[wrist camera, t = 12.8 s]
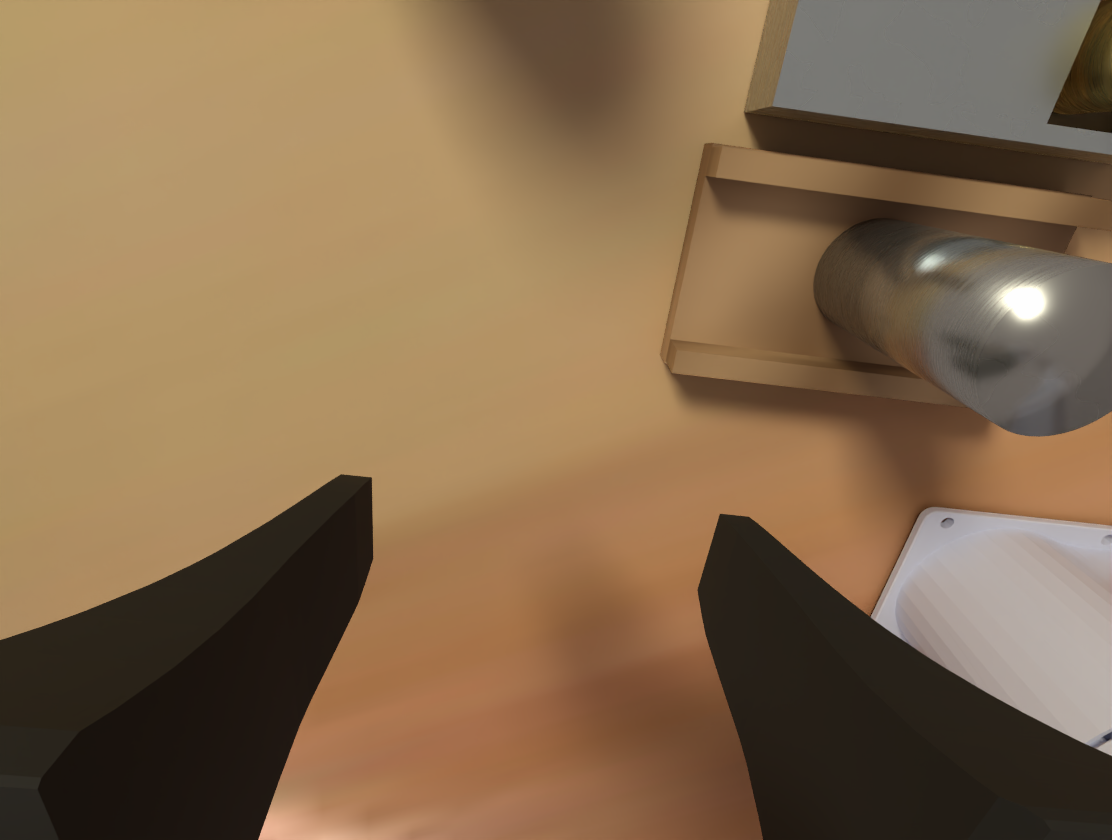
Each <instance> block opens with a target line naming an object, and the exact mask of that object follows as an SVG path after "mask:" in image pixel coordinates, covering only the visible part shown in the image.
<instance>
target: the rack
mask: <svg viewBox="0 0 1112 840" xmlns="http://www.w3.org/2000/svg"><path fill="white" fill-rule="evenodd" d="M1091 197H1092V196H1089V195H1082V194H1075V193H1068V192H1060V191H1053V190H1046V189H1039V188H1032V187H1024V186H1017V185H1010V184H1003V183H996V182H988V181H981V180H974V179H967V178H960V177H952V176H945V175H938V174H931V173H924V172H916V171H909V170H902V169H895V168H888V167H880V166H873V165H866V164H859V163H852V162H844V161H837V160H830V159H823V158H816V157H808V156H801V155H794V154H787V153H780V152H772V151H765V150H758V149H751V148H744V147H736V146H729V145H722V144H715V143H708V144H705V145H704V150H703V154H702V159H701V164H700V169H699V173H698V178H697V183H696V188H695V192H694V197H693V202H692V206H691V211H690V216H689V221H688V225H687V230H686V235H685V240H684V244H683V249H682V254H681V259H680V263H679V268H678V273H677V277H676V282H675V287H674V292H673V296H672V301H671V306H670V311H669V315H668V320H667V325H666V329H665V334H664V339H663V344H662V348H661V353H660V355H661V357H662V359H663V361H664V363H665V364H667V365H668V367H669V369H670V370H671V372H672V373H675V374H684V375H692V376H701V377H709V378H718V379H727V380H735V381H744V382H752V383H761V384H769V385H778V386H787V387H795V388H804V389H812V390H821V391H829V392H838V393H846V394H855V395H864V396H872V397H881V398H889V399H898V400H906V401H915V402H924V403H932V404H941V405H949V406H958V407H966V408H969V407H967V406H966V405H964V404H962V403H961V402H959V401H958V400H956V399H954V398H953V397H951V396H950V395H948V394H946V393H945V392H943V391H941V390H940V389H938V388H937V387H935V386H933V385H932V384H930V383H929V382H927V381H925V380H924V379H922V378H921V377H919V376H917V375H916V374H914V373H912V372H911V371H909V370H908V369H906V368H904V367H903V366H901V365H900V364H898V363H896V362H895V361H893V360H891V359H890V358H888V357H887V356H885V355H883V354H882V353H880V352H879V351H877V350H875V349H874V348H872V347H871V346H869V345H867V344H866V343H864V342H862V341H861V340H859V339H858V338H856V337H854V336H853V335H851V334H850V333H848V332H846V331H845V330H843V329H841V328H840V327H838V326H837V325H835V324H833V323H832V322H830V321H829V320H828V319H827V318H826V317H825V316H824V315H823V314H822V313H821V311H820V310H819V308H818V306H817V304H816V301H815V298H814V292H813V282H814V275H815V271H816V268H817V265H818V263H819V261H820V259H821V257H822V255H823V253H824V252H825V250H826V249H827V247H828V246H829V245H830V244H831V243H832V241H833V240H834V239H836V238H837V237H838V236H839V235H840V234H841V233H843V232H844V231H845V230H847V229H848V228H850V227H852V226H854V225H856V224H858V223H860V222H863V221H866V220H870V219H875V218H890V219H895V220H900V221H905V222H910V223H915V224H920V225H925V226H930V227H935V228H939V229H944V230H949V231H954V232H959V233H964V234H969V235H974V236H979V237H984V238H989V239H994V240H998V241H1003V242H1008V243H1013V244H1018V245H1023V246H1028V247H1033V248H1038V249H1043V250H1048V251H1053V252H1058V253H1062V254H1064V252H1065V250H1066V248H1067V246H1068V244H1069V242H1070V240H1071V238H1072V236H1073V234H1074V232H1075V230H1076V228H1077V226H1078V227H1085V228H1093V229H1100V230H1108V231H1111V230H1112V200H1105V199H1098V198H1091Z"/></svg>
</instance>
